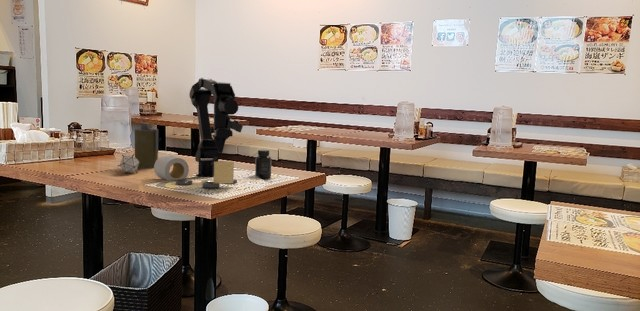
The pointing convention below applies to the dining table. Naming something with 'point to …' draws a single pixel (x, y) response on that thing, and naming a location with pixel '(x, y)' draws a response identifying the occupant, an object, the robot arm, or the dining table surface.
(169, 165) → the toilet paper
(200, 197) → the dining table surface
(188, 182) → the tribrach plate
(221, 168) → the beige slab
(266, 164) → the supplement bottle
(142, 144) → the canister
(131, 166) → the game die
